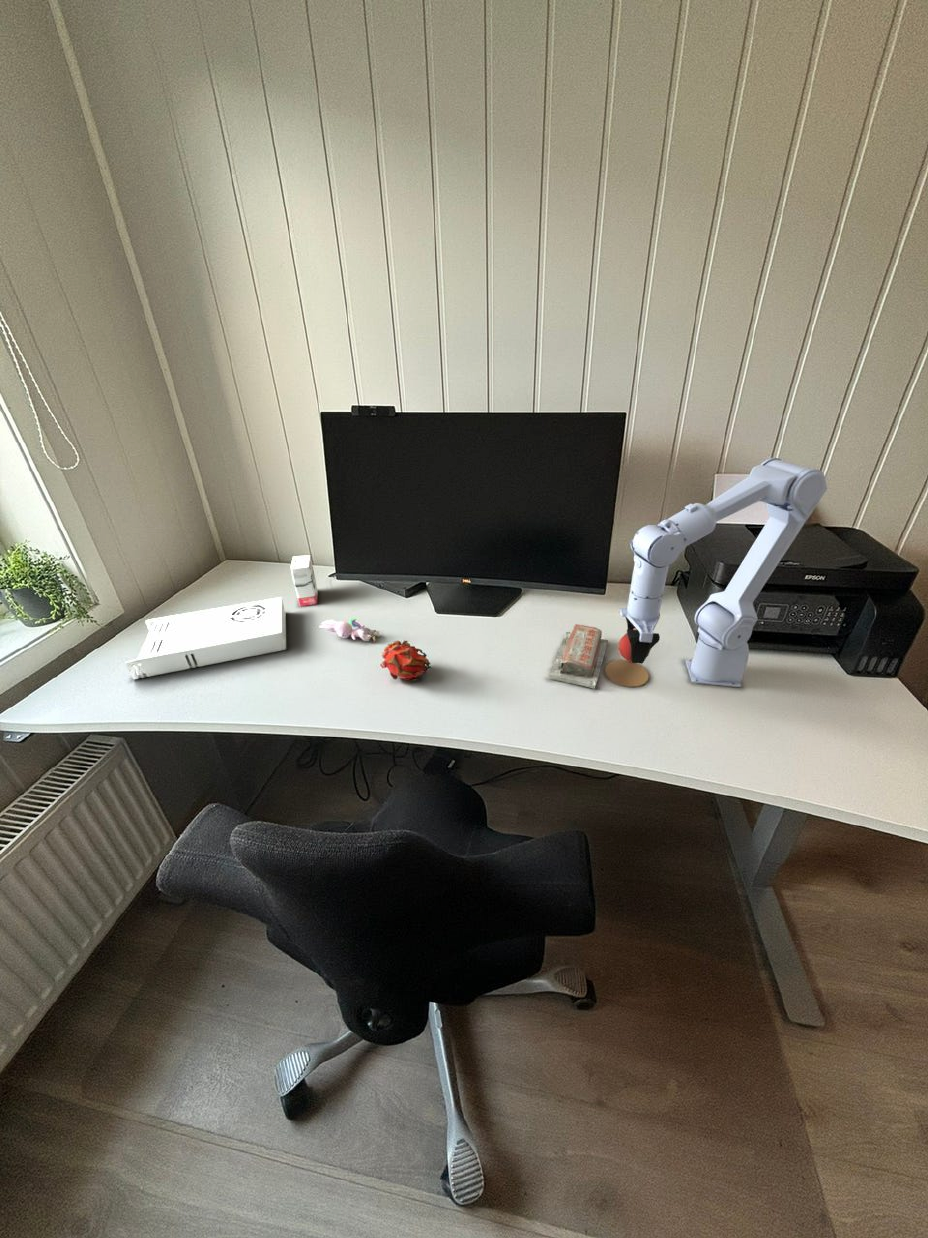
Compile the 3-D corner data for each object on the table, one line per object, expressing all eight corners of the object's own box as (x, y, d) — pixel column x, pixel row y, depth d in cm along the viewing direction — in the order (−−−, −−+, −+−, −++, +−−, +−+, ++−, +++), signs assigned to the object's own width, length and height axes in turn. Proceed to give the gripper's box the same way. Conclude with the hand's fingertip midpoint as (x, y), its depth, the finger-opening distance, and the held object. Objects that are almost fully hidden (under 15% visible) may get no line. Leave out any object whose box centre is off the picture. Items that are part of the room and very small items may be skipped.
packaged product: (567, 619, 114) (610, 627, 111) (565, 636, 117) (607, 644, 114) (549, 662, 100) (597, 671, 97) (547, 680, 103) (595, 690, 99)
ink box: (317, 604, 135) (309, 566, 129) (299, 606, 134) (289, 568, 128) (318, 590, 142) (310, 553, 136) (301, 593, 141) (292, 556, 135)
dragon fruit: (384, 670, 110) (429, 689, 107) (366, 671, 102) (415, 691, 98) (396, 635, 110) (442, 653, 106) (379, 633, 102) (429, 652, 98)
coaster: (646, 663, 107) (646, 662, 106) (650, 689, 99) (651, 688, 99) (604, 659, 108) (604, 658, 108) (605, 684, 101) (605, 683, 101)
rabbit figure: (381, 637, 122) (326, 624, 123) (382, 617, 119) (325, 604, 120) (372, 651, 117) (314, 637, 118) (372, 631, 113) (313, 617, 115)
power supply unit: (152, 636, 123) (144, 620, 120) (285, 612, 131) (281, 596, 129) (133, 680, 108) (124, 662, 105) (286, 649, 116) (281, 632, 113)
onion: (641, 653, 98) (647, 620, 94) (651, 670, 93) (658, 635, 89) (612, 655, 98) (617, 621, 94) (621, 671, 93) (627, 637, 89)
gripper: (620, 572, 94) (612, 630, 101) (627, 609, 82) (616, 672, 89) (658, 574, 93) (647, 633, 100) (670, 612, 81) (656, 676, 88)
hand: (635, 652), depth 95 cm, fingers closed on onion, 6 cm apart
